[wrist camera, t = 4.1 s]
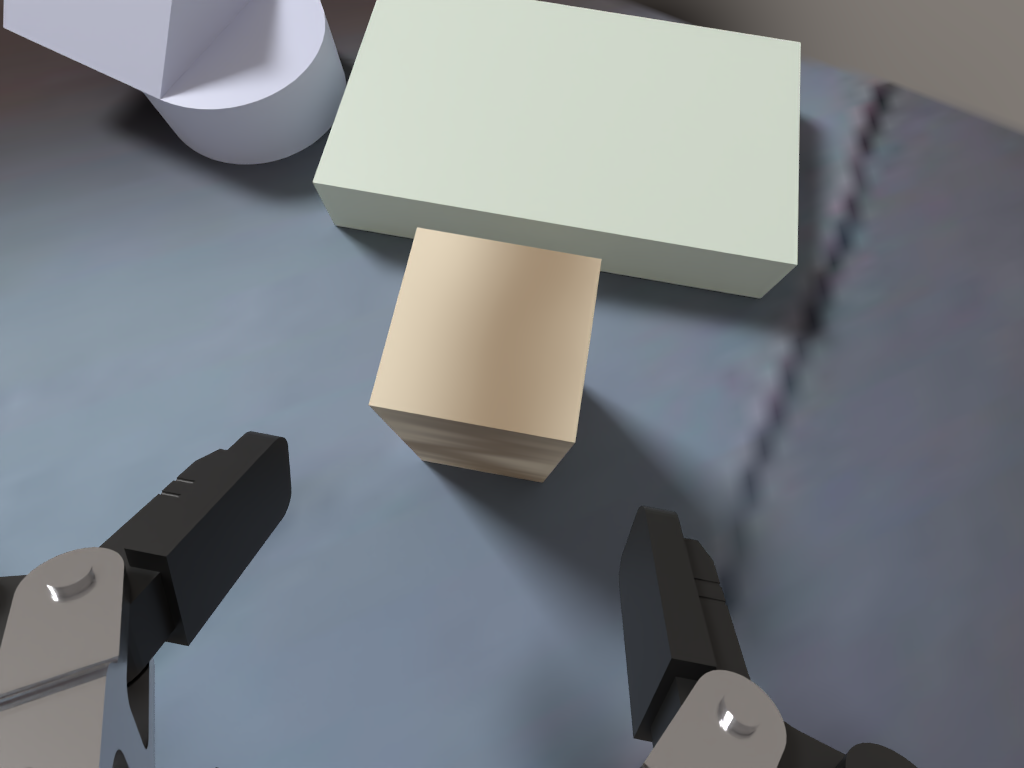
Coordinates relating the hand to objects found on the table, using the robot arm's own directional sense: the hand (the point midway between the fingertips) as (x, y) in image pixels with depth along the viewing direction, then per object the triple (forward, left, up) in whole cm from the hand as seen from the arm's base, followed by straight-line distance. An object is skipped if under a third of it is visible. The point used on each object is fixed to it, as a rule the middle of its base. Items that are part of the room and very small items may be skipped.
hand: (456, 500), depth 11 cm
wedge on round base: (-17, +19, -9) cm, 27 cm away
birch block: (0, +4, -9) cm, 10 cm away
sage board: (+1, +18, -9) cm, 20 cm away
